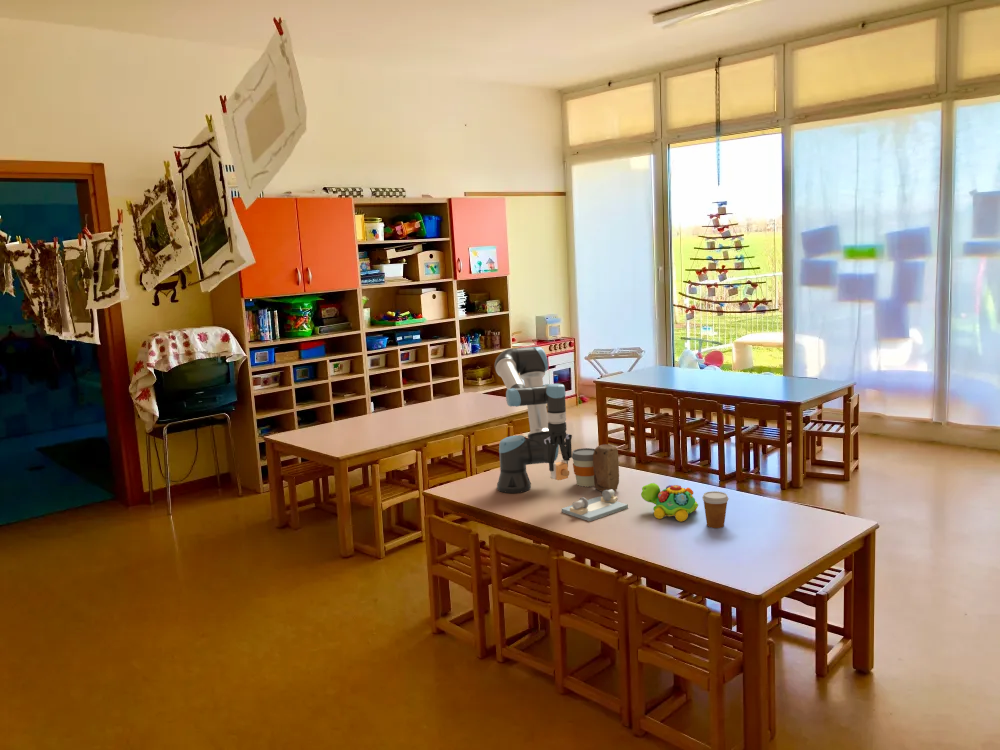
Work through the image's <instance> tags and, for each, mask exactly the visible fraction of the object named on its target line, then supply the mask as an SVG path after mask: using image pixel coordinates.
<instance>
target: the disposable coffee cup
mask: <svg viewBox="0 0 1000 750" xmlns="http://www.w3.org/2000/svg"><path fill="white" fill-rule="evenodd" d="M702 495H703V496H702V500H703V505H704V512H705V513H704V514H705V520H706V526H707V527H708V528H712V529H720V528H723V527H725V523H726V512H727V505H728V501H729V499H730V498H729V496H728V494H727V493H725V492H722V491H715V490H714V491H713V490H712V491H706V492H705V493H703V494H702Z"/></svg>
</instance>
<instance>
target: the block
mask: <svg viewBox="0 0 1000 750" xmlns="http://www.w3.org/2000/svg"><path fill="white" fill-rule="evenodd" d="M594 449H595V450H594V453H593V469H594V486H593V487H594V488H595V489H596V490H598V491H600V492H601V493H602V492H603V491H604V490H610V489H613V490H614V492H616V491H617V490H618V487H619V483H620V466H619V465H620V464H619V462H620V461H619V451H618V448H617V446H614V445H611V444H606V443H603V444H600V445H597V446H596V447H595V448H594Z"/></svg>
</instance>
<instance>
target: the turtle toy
mask: <svg viewBox="0 0 1000 750" xmlns="http://www.w3.org/2000/svg"><path fill="white" fill-rule="evenodd" d="M641 490H642V491H641V494H640V496H641V498H642V499H643V500H644V501H645V502H647V503H652V504H653V505H654V506H653V516H654V518H656V519H659V520H661V519H663V518H665V517H675V520H676V521H678V522H685V521H686V520H687V519H688V517H689V514H692V513H693V512H695V511H697V509H698V506H699V503H698V502H697V501H696V499H695V496H693V495H694V490H692V488H690V487H686V488H685V487H684V488H683V487H682V486H681V485H678V484H671V485H667V486H666V487H665V488H664V489H663V490H661V488H660V486H659V485H658V484H657V483H655V482H652V483H648V484H646V485H643V486H642V487H641Z"/></svg>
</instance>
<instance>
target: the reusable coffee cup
mask: <svg viewBox="0 0 1000 750" xmlns="http://www.w3.org/2000/svg"><path fill="white" fill-rule="evenodd" d="M594 450H595V448H592V447H591V448H590V447H589V448H588V447H583V448H582V447H581V448H577V449H573V451H572V458H571V459H572V461H573V462H572V466H573V467H572V469H573V474H574V475H575V479H576V480H575V481H576V485H577V486H578V485H579V486H578V487H583V486H585V488H588V486H590V487H595V486H594V469H593V453H594ZM586 486H587V487H586Z"/></svg>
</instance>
